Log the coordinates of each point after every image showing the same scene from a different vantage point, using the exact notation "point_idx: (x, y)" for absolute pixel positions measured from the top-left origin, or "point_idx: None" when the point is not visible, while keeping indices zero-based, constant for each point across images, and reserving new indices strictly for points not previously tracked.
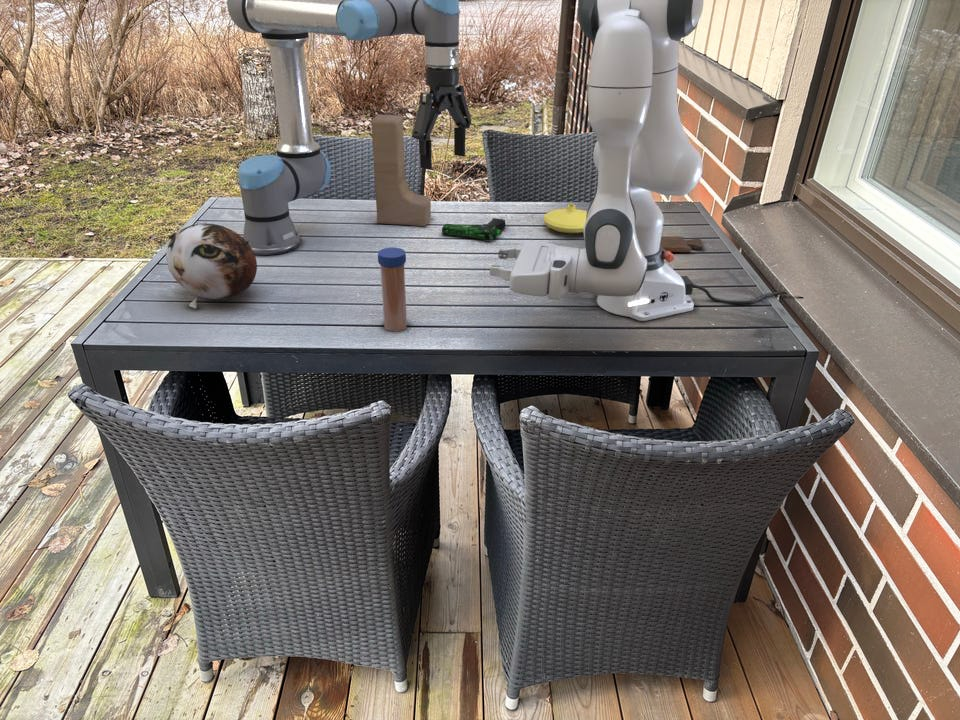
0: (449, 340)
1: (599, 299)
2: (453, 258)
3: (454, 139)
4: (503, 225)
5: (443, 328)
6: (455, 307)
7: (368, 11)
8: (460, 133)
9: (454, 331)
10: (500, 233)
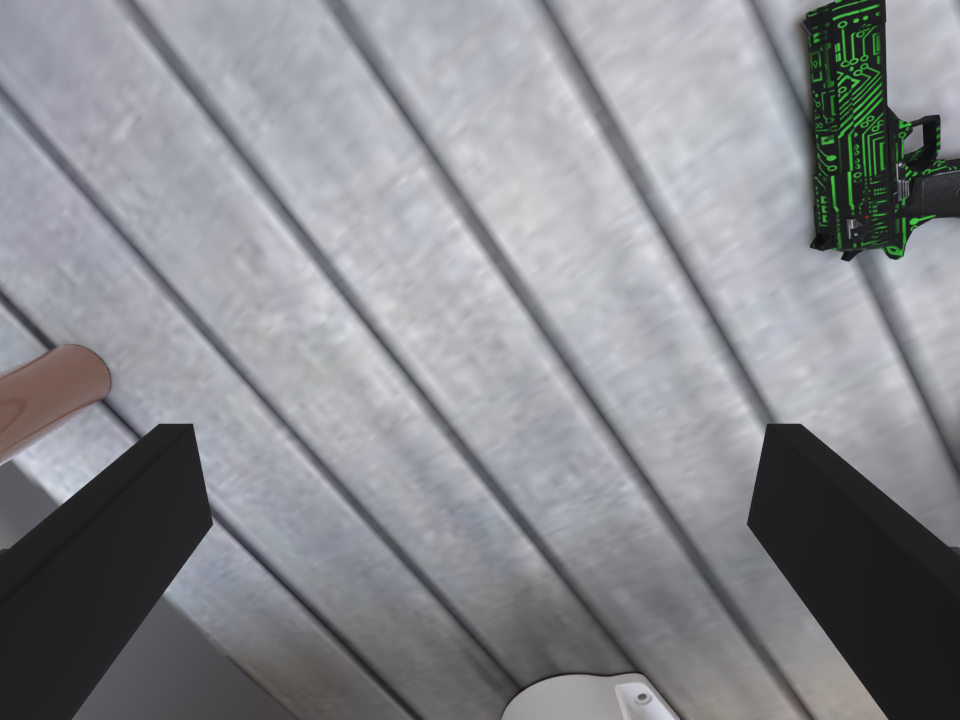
0: None
1: (529, 700)
2: (596, 219)
3: (882, 533)
4: None
5: None
6: (284, 439)
7: None
8: (929, 712)
9: None
10: (891, 256)
